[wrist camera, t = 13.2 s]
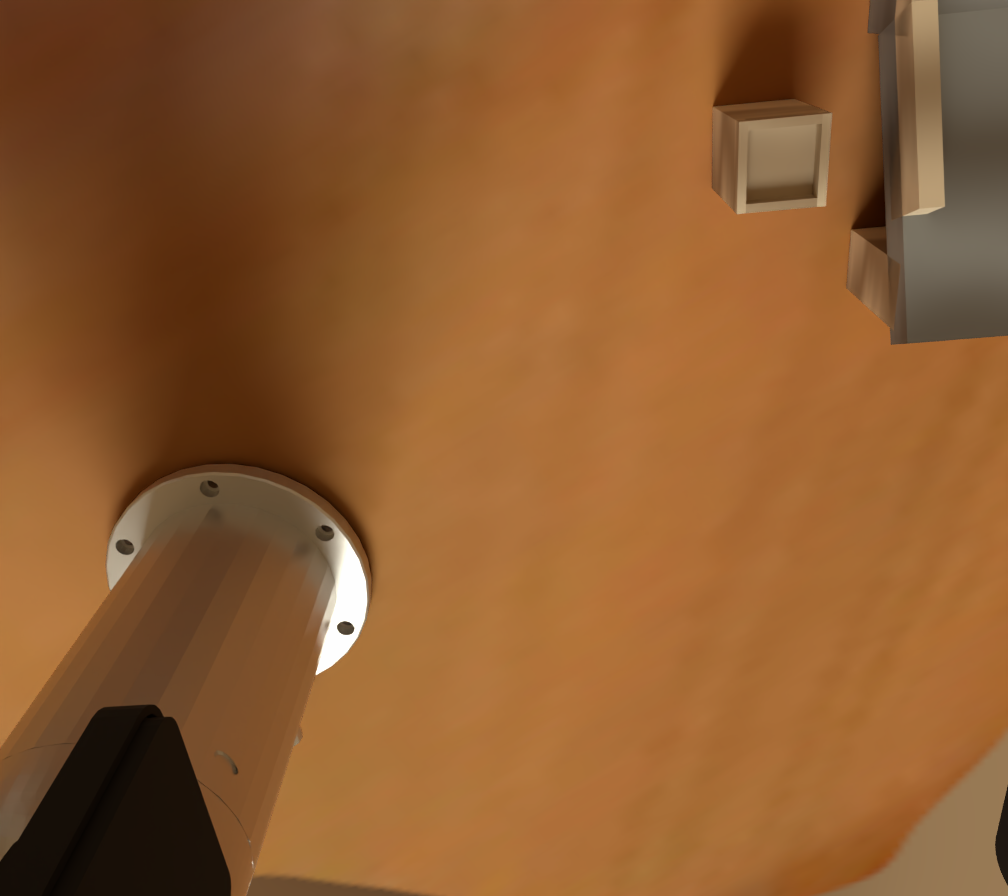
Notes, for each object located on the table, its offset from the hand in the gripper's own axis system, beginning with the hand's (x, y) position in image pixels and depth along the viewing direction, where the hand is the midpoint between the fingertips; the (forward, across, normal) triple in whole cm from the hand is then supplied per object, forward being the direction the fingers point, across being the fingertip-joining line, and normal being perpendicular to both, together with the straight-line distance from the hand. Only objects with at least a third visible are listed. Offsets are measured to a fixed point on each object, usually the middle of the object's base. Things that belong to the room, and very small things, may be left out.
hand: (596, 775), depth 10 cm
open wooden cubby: (+28, -8, -2) cm, 29 cm away
